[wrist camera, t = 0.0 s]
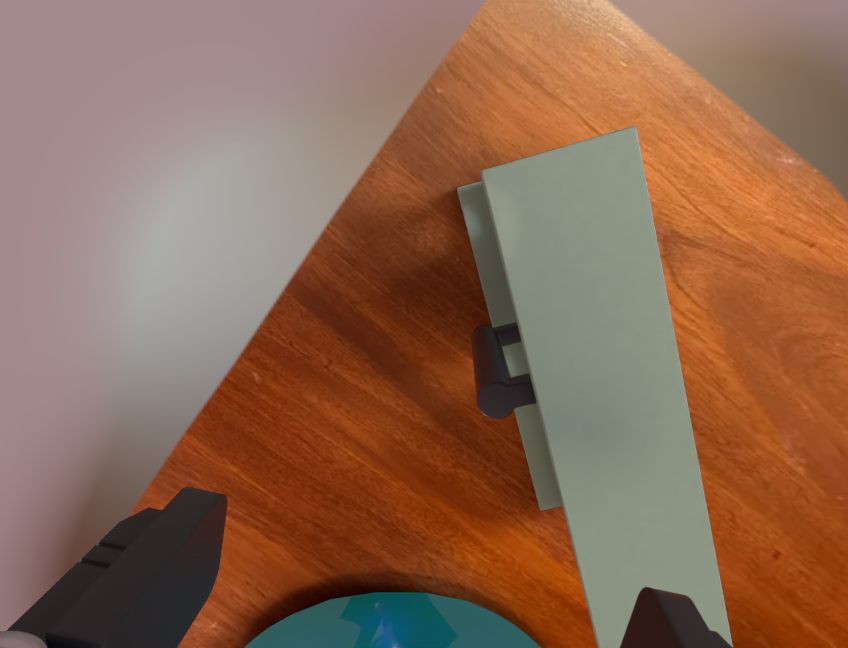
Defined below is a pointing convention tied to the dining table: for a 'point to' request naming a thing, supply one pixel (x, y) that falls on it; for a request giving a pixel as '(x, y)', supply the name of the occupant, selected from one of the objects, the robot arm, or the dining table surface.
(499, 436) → the dining table surface
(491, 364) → the sash
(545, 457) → the window frame
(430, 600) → the boat on round base
